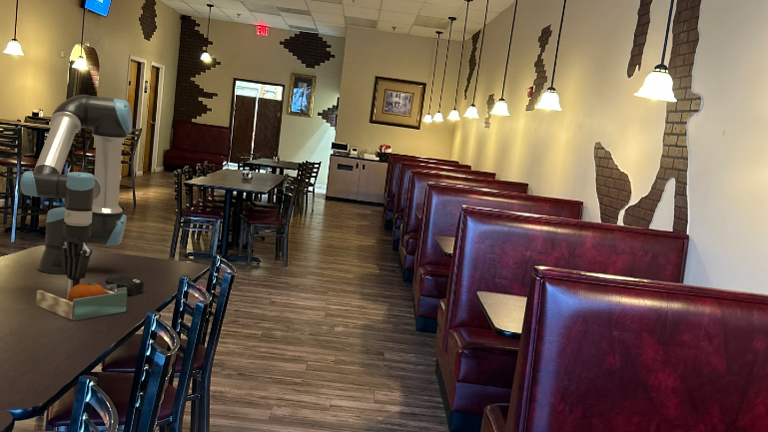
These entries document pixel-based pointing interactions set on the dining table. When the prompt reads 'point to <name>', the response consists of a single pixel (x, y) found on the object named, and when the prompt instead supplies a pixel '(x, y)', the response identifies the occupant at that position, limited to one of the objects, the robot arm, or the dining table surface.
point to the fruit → (85, 291)
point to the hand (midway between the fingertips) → (72, 299)
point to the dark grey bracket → (113, 288)
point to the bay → (83, 304)
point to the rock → (127, 284)
